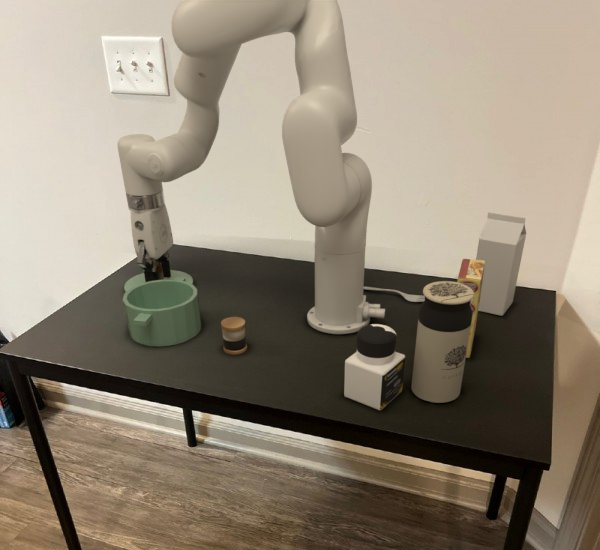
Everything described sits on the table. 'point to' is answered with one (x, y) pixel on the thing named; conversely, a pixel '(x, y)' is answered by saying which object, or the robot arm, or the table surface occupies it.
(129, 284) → the pot lid
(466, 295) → the travel mug
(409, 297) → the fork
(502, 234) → the milk carton
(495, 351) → the table surface
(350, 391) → the medicine bottle
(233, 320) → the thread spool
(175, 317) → the pot
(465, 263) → the candy box
